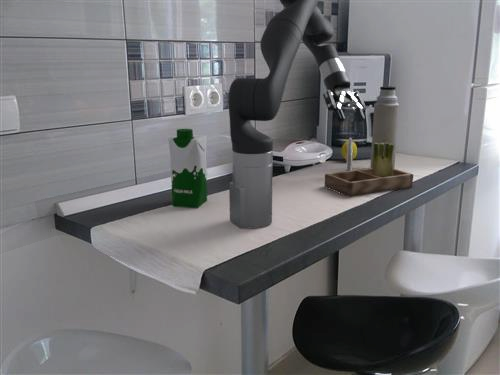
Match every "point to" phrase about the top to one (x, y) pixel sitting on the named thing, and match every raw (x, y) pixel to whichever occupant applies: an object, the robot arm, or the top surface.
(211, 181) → the top surface
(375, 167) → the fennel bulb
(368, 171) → the caddy
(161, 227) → the top surface
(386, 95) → the thermos bottle
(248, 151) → the robot arm
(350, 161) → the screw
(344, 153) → the lemon
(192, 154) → the milk carton
